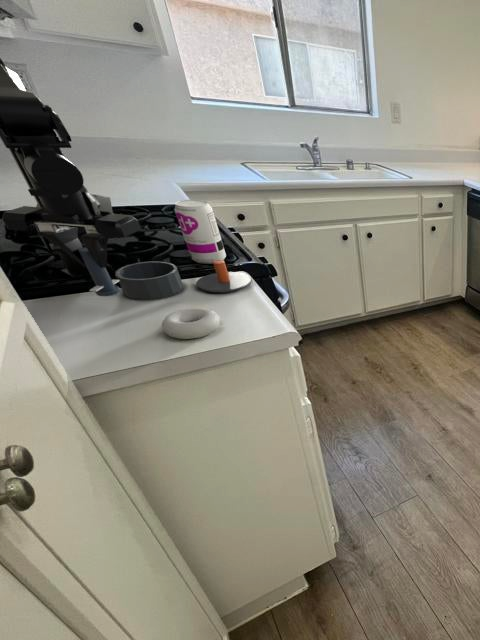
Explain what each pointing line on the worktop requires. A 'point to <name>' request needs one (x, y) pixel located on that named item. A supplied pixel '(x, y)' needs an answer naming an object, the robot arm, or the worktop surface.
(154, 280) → the bowl
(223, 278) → the bowl lid
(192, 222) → the supplement can
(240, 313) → the worktop surface
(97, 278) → the food processor blade
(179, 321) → the donut
